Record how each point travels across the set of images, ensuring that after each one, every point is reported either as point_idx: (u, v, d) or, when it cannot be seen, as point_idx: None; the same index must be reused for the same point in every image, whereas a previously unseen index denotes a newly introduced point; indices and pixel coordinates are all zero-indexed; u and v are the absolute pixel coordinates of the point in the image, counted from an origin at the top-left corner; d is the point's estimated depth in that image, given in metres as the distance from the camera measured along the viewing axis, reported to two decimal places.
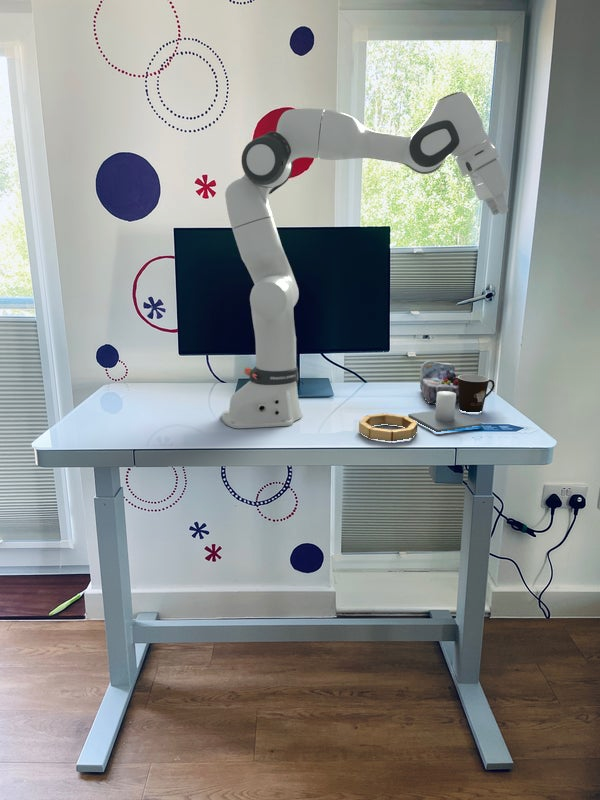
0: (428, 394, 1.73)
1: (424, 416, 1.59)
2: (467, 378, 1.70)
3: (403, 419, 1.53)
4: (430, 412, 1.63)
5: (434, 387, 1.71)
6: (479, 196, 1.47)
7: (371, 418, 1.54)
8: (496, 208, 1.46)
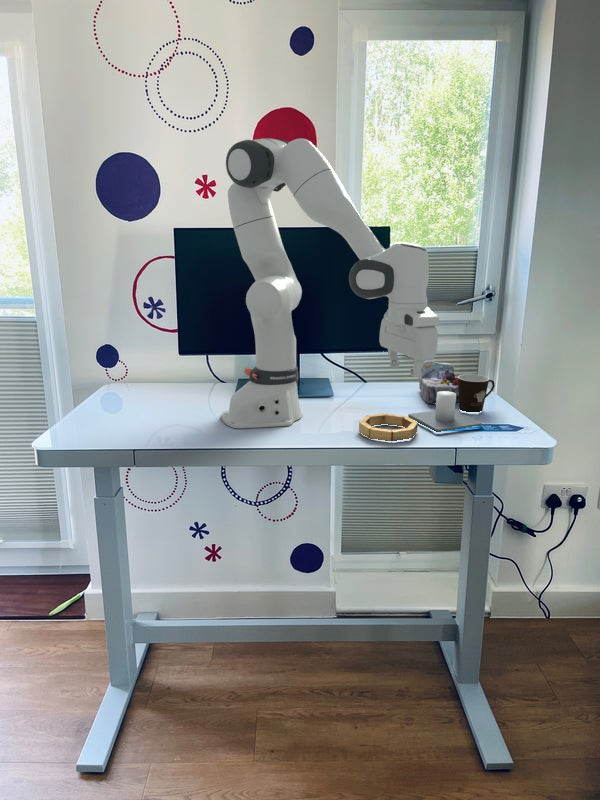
0: (427, 394, 1.73)
1: (424, 416, 1.59)
2: (467, 378, 1.70)
3: (403, 419, 1.53)
4: (430, 412, 1.63)
5: (433, 387, 1.71)
6: (385, 343, 1.43)
7: (371, 418, 1.54)
8: (397, 362, 1.43)
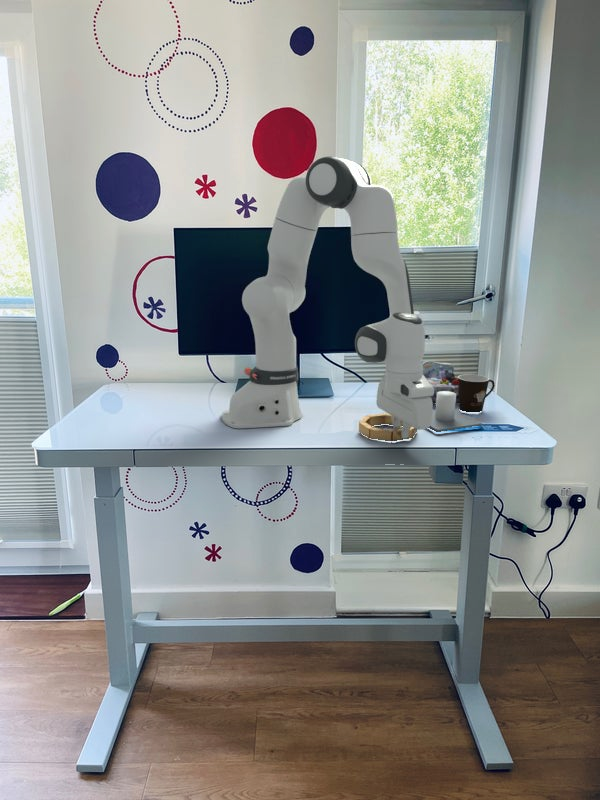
0: None
1: None
2: (467, 378, 1.70)
3: None
4: None
5: None
6: (382, 406, 1.48)
7: (371, 418, 1.54)
8: None
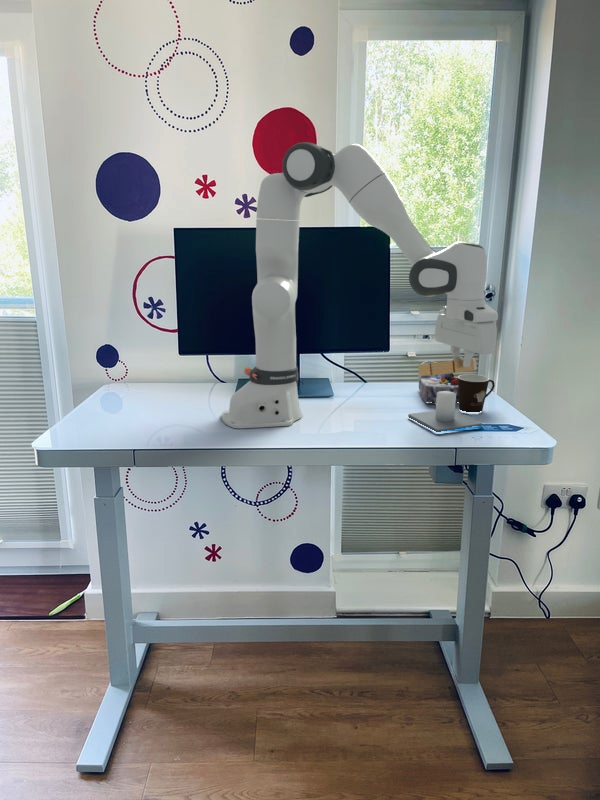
0: (425, 394, 1.73)
1: (424, 416, 1.59)
2: (467, 378, 1.70)
3: None
4: (430, 412, 1.63)
5: (431, 387, 1.72)
6: (442, 338, 1.50)
7: None
8: (460, 359, 1.47)
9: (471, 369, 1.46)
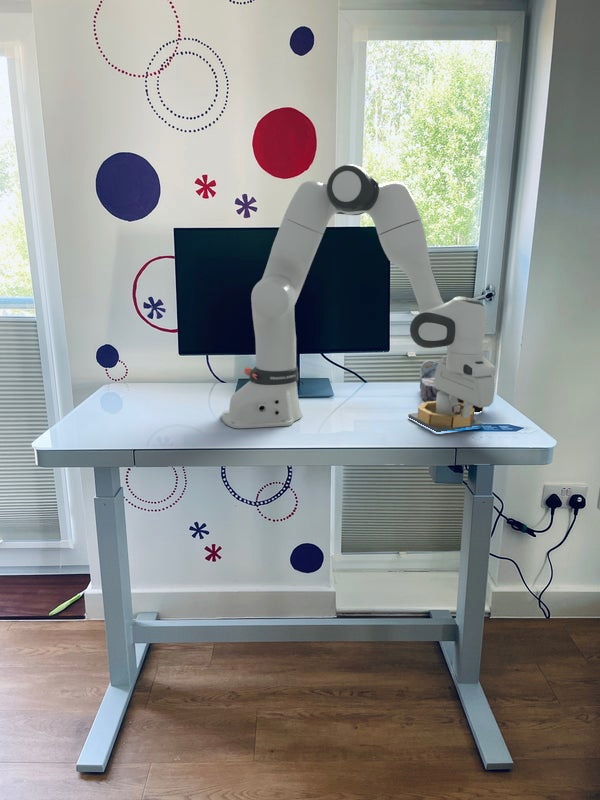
0: (425, 393, 1.74)
1: None
2: None
3: (459, 405, 1.60)
4: None
5: (431, 386, 1.72)
6: (441, 387, 1.54)
7: (428, 405, 1.61)
8: (458, 408, 1.52)
9: (468, 424, 1.52)
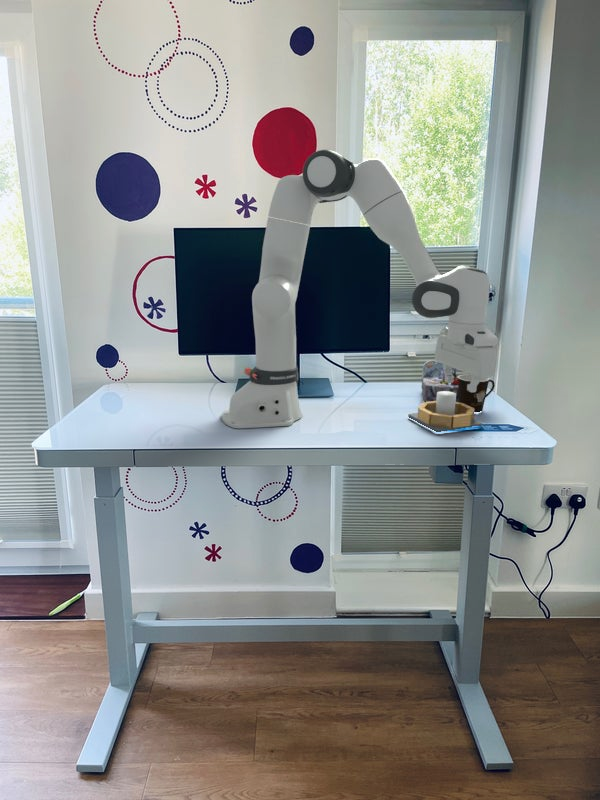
0: (425, 393, 1.74)
1: None
2: (467, 378, 1.70)
3: (459, 405, 1.60)
4: None
5: (431, 386, 1.72)
6: (441, 359, 1.52)
7: (428, 405, 1.61)
8: (451, 377, 1.52)
9: (468, 424, 1.52)
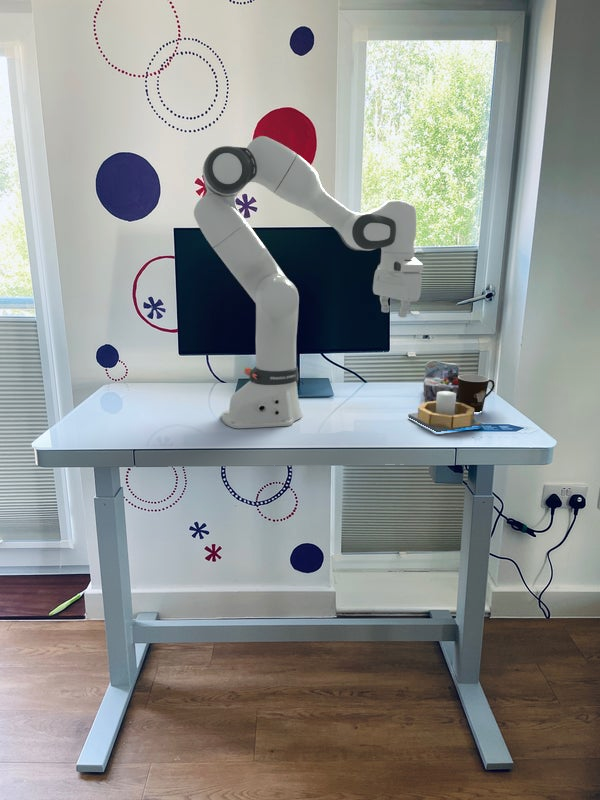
0: (425, 393, 1.74)
1: None
2: (467, 378, 1.70)
3: (459, 405, 1.60)
4: None
5: (431, 386, 1.72)
6: (378, 291, 1.65)
7: (428, 405, 1.61)
8: (387, 308, 1.65)
9: (468, 424, 1.52)
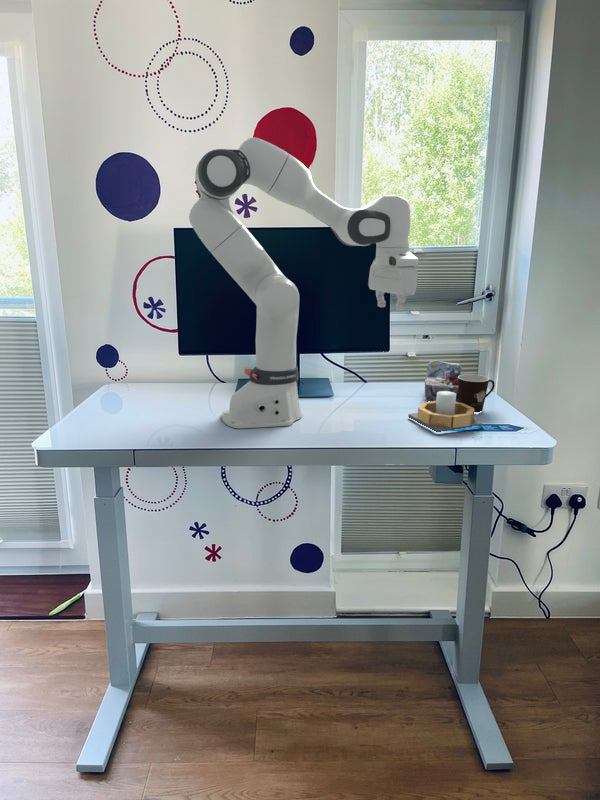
0: (425, 392, 1.75)
1: None
2: (467, 378, 1.70)
3: (459, 405, 1.60)
4: None
5: (431, 386, 1.73)
6: (374, 286, 1.66)
7: (428, 405, 1.61)
8: (383, 302, 1.66)
9: (468, 424, 1.52)
